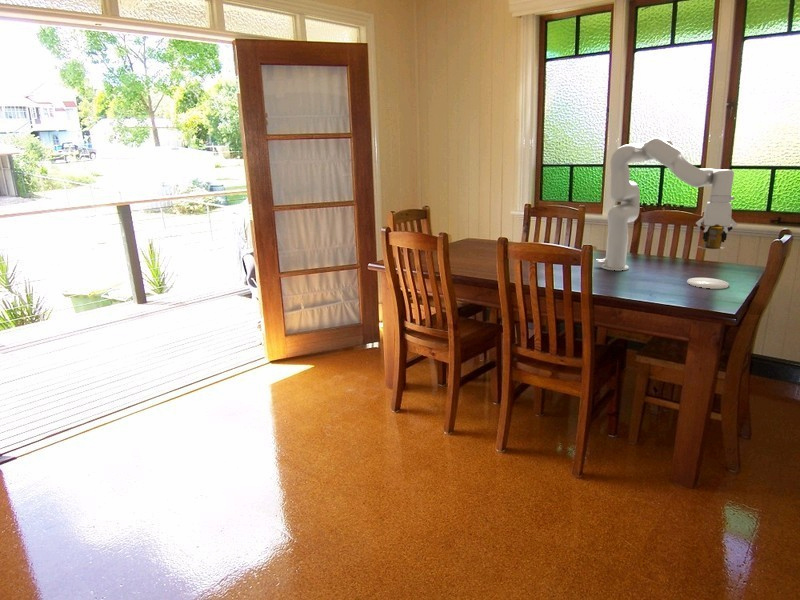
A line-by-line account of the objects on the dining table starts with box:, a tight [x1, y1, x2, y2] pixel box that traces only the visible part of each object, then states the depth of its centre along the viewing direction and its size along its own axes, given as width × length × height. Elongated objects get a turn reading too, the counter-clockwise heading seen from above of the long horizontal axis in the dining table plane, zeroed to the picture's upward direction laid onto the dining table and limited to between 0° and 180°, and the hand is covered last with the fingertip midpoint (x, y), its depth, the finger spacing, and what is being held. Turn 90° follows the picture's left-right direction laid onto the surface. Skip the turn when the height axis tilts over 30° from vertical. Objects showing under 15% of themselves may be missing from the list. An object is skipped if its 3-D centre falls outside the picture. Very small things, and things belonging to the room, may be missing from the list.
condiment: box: [697, 224, 725, 251], centre depth 233 cm, size 7×8×12 cm
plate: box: [686, 277, 730, 290], centre depth 239 cm, size 16×16×1 cm
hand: (713, 241), depth 234 cm, fingers closed on condiment, 6 cm apart
